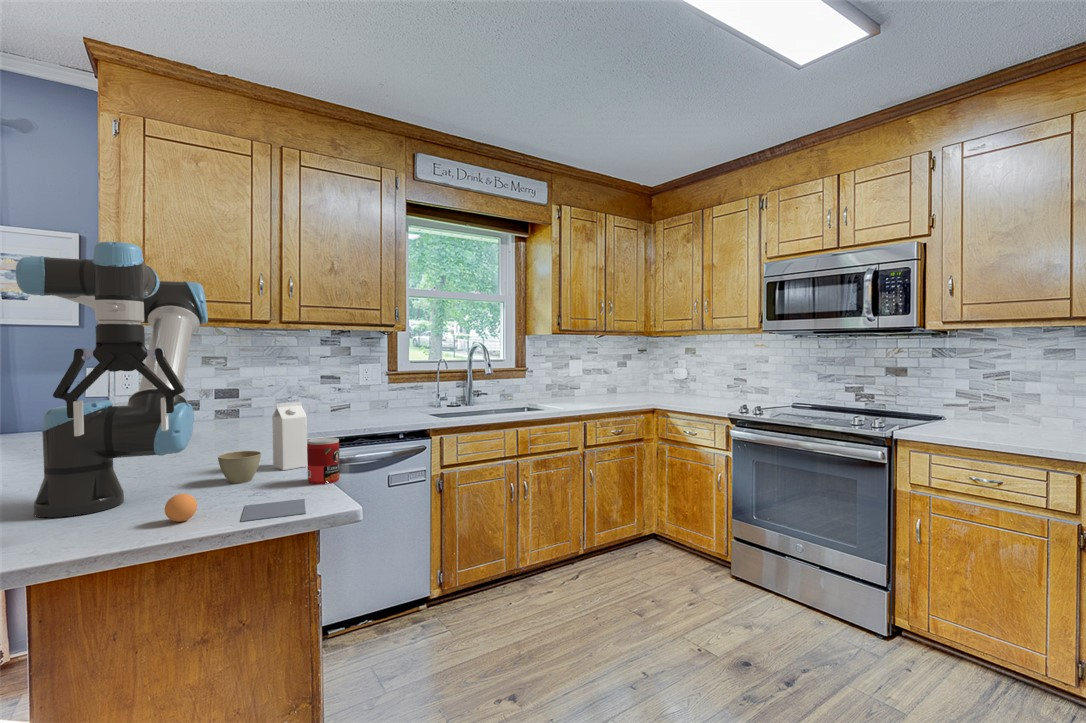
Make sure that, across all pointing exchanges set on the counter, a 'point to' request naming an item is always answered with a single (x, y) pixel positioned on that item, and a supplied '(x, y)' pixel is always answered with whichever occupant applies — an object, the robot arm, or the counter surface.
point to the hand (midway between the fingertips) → (123, 432)
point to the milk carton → (289, 436)
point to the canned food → (323, 460)
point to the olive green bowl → (239, 465)
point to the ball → (180, 507)
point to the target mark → (273, 510)
